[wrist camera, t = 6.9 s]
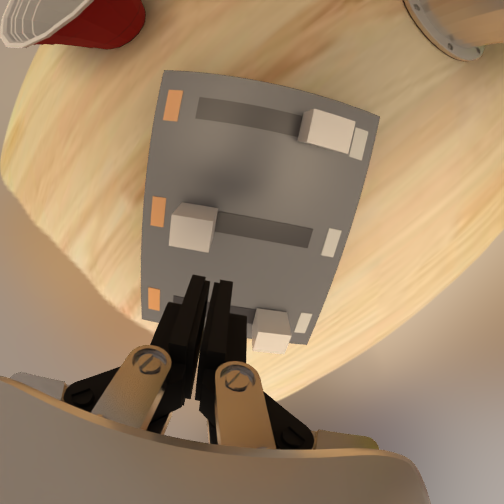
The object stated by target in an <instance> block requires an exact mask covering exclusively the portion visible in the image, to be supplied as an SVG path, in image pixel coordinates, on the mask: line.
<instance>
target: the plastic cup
mask: <svg viewBox="0 0 504 504" xmlns="http://www.w3.org/2000/svg"><path fill="white" fill-rule="evenodd" d="M145 16H146V15H145V9H144V7H143V4H142V2H141V0H9V3H8V5H7V7H6V10H5V12H4V14H3V17H2V19H1V28H0V38H1V40H2V41H3V43H4V44H5V46H6V47H7V48H27V47H29V46H31V45H35V44H42V45H43V44H51V45H53V44H64V45H73V46H81V47H88V48H94V47H95V48H101V49H113V48H117V47H121V46H123V45H124V44H126V43H128V42H130V41H131V40H132V39H133V38H134V37H135V36H136V35H137V34H138V33H139V32H140V30H141V28H142V27H143V25H144V21H145Z"/></svg>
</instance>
